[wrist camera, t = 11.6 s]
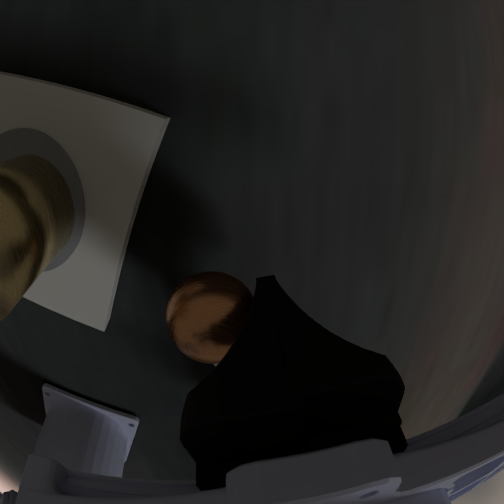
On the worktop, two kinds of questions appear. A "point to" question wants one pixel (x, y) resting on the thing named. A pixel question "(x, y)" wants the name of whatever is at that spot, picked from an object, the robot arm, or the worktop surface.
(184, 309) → the lever
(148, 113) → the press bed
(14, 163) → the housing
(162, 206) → the worktop surface
